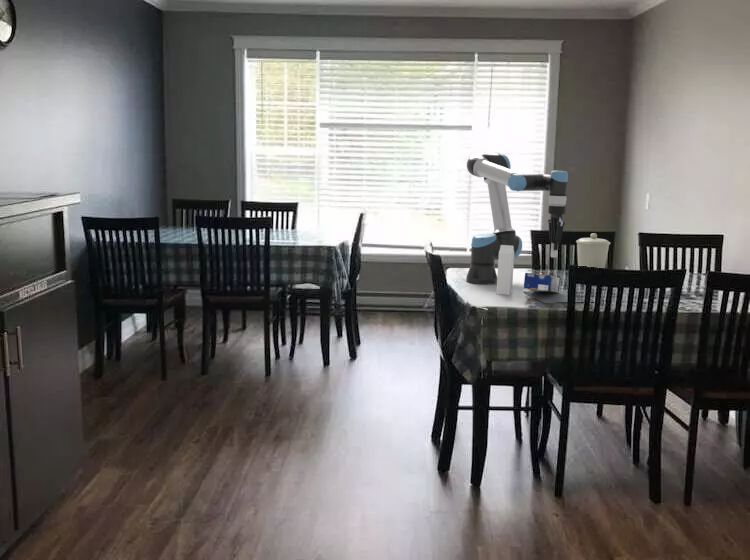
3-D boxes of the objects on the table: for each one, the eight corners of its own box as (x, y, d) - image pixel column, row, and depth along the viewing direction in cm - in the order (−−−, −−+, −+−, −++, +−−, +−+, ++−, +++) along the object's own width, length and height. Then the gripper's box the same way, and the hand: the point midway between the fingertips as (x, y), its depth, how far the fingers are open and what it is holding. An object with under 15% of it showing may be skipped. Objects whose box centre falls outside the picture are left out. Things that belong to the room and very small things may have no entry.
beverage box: (558, 292, 338) (548, 291, 318) (535, 290, 342) (523, 288, 322) (560, 278, 338) (550, 275, 318) (536, 275, 342) (525, 272, 322)
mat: (543, 303, 316) (544, 302, 316) (523, 292, 339) (523, 291, 339) (600, 302, 320) (600, 301, 320) (576, 292, 343) (576, 291, 343)
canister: (615, 273, 402) (618, 234, 398) (590, 275, 394) (593, 235, 390) (591, 268, 418) (594, 231, 414) (566, 269, 409) (569, 231, 406)
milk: (498, 291, 339) (501, 244, 335) (512, 293, 337) (514, 245, 333) (496, 294, 333) (498, 245, 330) (509, 295, 331) (512, 246, 328)
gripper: (571, 206, 328) (567, 259, 332) (559, 204, 340) (555, 255, 344) (555, 206, 326) (551, 259, 330) (543, 204, 339) (540, 255, 343)
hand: (553, 257), depth 337 cm, fingers closed
